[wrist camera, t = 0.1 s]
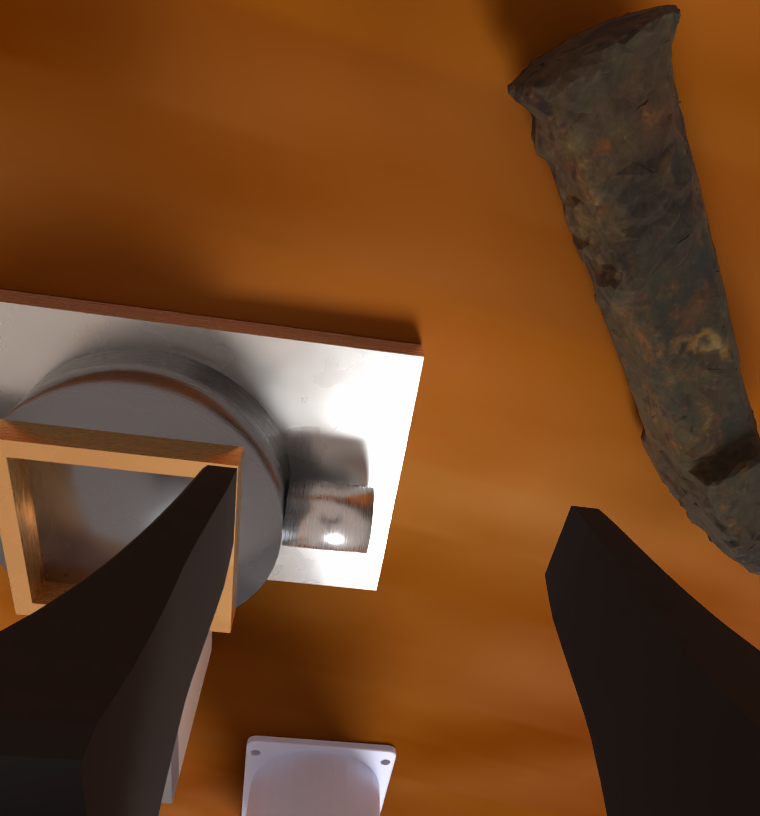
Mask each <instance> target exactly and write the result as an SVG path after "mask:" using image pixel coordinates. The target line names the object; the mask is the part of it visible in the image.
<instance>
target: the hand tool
mask: <svg viewBox="0 0 760 816" xmlns="http://www.w3.org/2000/svg"><path fill="white" fill-rule="evenodd" d="M679 19H680V9H678V8H677V6H676V5H663V6H657V7H653V8H649V9H645V10H641V11H638V12H634V13H626V14H625V15H623V16H621V17H617V18H614V19H611V20H608V21H605V22H603V23H601V24H599V25H597V26H594V27H592V28H590V29H587V30H585V31H583V32H582V33H580V34H578V35H576V36H574V37H572V38H571V39H569V40H567V41H565V42H563V43H562V44H560V45H558V46H557V47H555V48H554V49H552V50H550V51H549V52H547V53H545V54H543V55H542V56H540V57H538V58H536V59H534V60H532V61H531V62H530V65H529V67H527V68H526V69H525V70H523V71H522V72H521V73H520V75H519V76H518V77H516V79H515V80H514V81H513V82H512V83H510V84H509V85H508V87H507V88H508V93H509V95H510V96H512V98H513V99H514V100H515V101H516V102H518V103H520V104H522V105H523V106H524V107H525V108H526V109H527V110H529V111H530V112H531V115H532V118H533V120H532V133H531V136H532V140H533V141H534V146H535V150H536V153H537V155H538V156H540V157H542V158H543V159H545V160H547V161H548V163H549V165H550V167H551V170H552V173H553V176H554V179H555V183H556V186H557V189H558V192H559V195H560V198H561V201H562V203H563V209H564V215H565V219H566V222H567V224H568V226H569V229H570V231H571V233H572V235H573V241H574V244H575V246H576V248H577V251H578V253H579V255H580V257H581V259H582V261H583V262H584V261H585V263H586V266H587V268H588V271H589V274H590V276H591V279H592V282H593V285H594V289H595V297H594V298H595V301H596V302H597V304H598V305H599V306H600V309H601V312H602V314H603V317H604V319H605V322H606V324H607V327H608V329H609V332H610V334H611V337H612V339H613V342H614V345H615V348H616V350H617V353H618V356H619V359H620V361H621V364H622V367H623V370H624V372H625V375H626V378H627V382H628V385H629V387H630V390H631V393H632V395H633V398H634V400H635V403H636V406H637V409H638V412H639V416H640V418H641V421H642V424H643V426H644V429H643V432H642V435H641V440H642V443H643V446H644V448H645V450H646V452H647V454H648V456H649V457H650V459H651V461H652V463H653V465H654V467H655V469H656V470H657V472H658V474H659V476H660V478H661V480H662V482H663V483H664V484H666V485H667V486H668V488H669V490H670V492H671V493H672V495H673V496H674V497H675V498H676V499H677V500H678V501H679V502H680V506H682V507H683V508H684V509H685V510H686V511H687V516H688V518H689V519H690V521H691V522H692V523H693V524H695V525H697V526H699V527H700V528H702V529H703V530H704V531H705V532H706V533H707V535H708V538H709V540H710V541H711V542H713V543H714V544H715V545H716V546H717V547H718V548H719V549H720V550H721V551H722V552H723V553H724V554H726V555H727V556H729V557H730V558H732V559H733V560H735V561H737V562H738V563H739V564H741V565H742V566H744V567H745V568H746V569H747V570H748V571H749V572H750V573H753V574H757V575H760V437H759V434H758V431H757V425H756V420H755V417H754V414H753V410H752V409H751V406H750V403H749V400H748V397H747V394H746V390H745V387H744V383H743V380H742V376H741V373H740V359H739V354H738V350H737V345H736V341H735V337H734V333H733V328H732V324H731V320H730V315H729V311H728V306H727V299H726V294H725V290H724V286H723V282H722V277H721V273H720V269H719V265H718V260H717V254H716V250H715V247H714V244H713V242H712V238H711V233H710V228H709V222H708V218H707V214H706V210H705V206H704V202H703V198H702V194H701V188H700V184H699V180H698V176H697V172H696V169H695V165H694V162H693V158H692V154H691V151H690V147H689V144H688V140H687V136H686V131H685V125H684V119H683V116H682V113H681V110H680V107H679V103H680V102H681V101H678V94H677V90H676V87H675V83H674V80H673V70H672V60H671V57H672V50H671V45H672V42H673V39H674V35H675V32H676V28H677V24H678V23H679Z"/></svg>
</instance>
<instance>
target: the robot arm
mask: <svg viewBox="0 0 760 816" xmlns="http://www.w3.org/2000/svg"><path fill="white" fill-rule="evenodd" d="M236 485H237V468H231V467H222V466H214V465H207V466H205V467H204V468H202V469H201V471H200V472H199V473H198V474H197V475H196V477H195V478H194V479H193V480H192V481H191V482H190V484H189V485H188V486H187V487H186V488H185V489H184V490H183V491H182V492H181V494H180V495H179V496H178V497H177V498H176V499H175V500H174V501H173V502H172V503H171V504H170V505H169V506H168V507H167V508H166V509H165V510H164V511H163V512H162V513H161V514H160V515H159V516H158V517H157V518H156V519H155V520H154V521H153V522H152V523H151V524H150V525H149V526H148V527H147V528H146V529H145V530H143V531H142V532H141V533H140V534H139V535H138V536H137V537H136V538H134V539H133V540H132V541H131V542H130V543H129V544H128V545H126V546H125V547H124V548H123V549H122V550H121V551H120V552H118V553H117V554H116V555H115V556H114V557H112V558H111V559H110V560H109V561H107V562H106V563H105V564H104V565H102V566H101V567H100V568H98V569H97V570H96V571H94V572H93V573H92V574H90V575H89V576H88V577H86V578H85V579H84V580H82V581H81V582H79V583H78V584H77V585H75V586H74V587H72V588H71V589H69V590H68V591H66V592H65V593H63V594H62V595H60V596H59V597H57V598H56V599H54V600H53V601H51V602H50V603H48V604H46V605H45V606H43V607H42V608H40V609H38V610H37V611H35V612H34V613H32V614H30V615H29V616H27V617H25V618H23V619H22V620H20V621H18V622H16V623H14V624H13V625H11V626H9V627H7V628H5V629H3V630H2V631H0V816H158V814H159V810H160V805H161V801H162V797H163V793H164V788H165V784H166V780H167V775H168V771H169V767H170V762H171V758H172V754H173V750H174V746H175V741H176V737H177V733H178V729H179V725H180V721H181V717H182V713H183V708H184V704H185V701H186V698H187V694H188V691H189V688H190V684H191V681H192V678H193V675H194V672H195V670H196V667H197V664H198V661H199V658H200V655H201V652H202V649H203V647H204V644H205V641H206V638H207V635H208V632H209V629H210V626H211V624H212V621H213V618H214V615H215V612H216V609H217V606H218V603H219V600H220V597H221V594H222V591H223V588H224V585H225V581H226V576H227V572H228V567H229V563H230V558H231V553H232V549H233V544H234V527H235V506H236ZM545 578H546V584H547V590H548V596H549V602H550V607H551V612H552V617H553V620H554V624H555V627H556V630H557V633H558V636H559V639H560V642H561V646H562V649H563V652H564V655H565V658H566V661H567V664H568V667H569V670H570V673H571V676H572V679H573V682H574V685H575V688H576V691H577V694H578V697H579V700H580V703H581V706H582V709H583V712H584V715H585V719H586V722H587V726H588V729H589V733H590V736H591V740H592V745H593V749H594V754H595V758H596V763H597V767H598V772H599V776H600V781H601V786H602V791H603V796H604V801H605V806H606V812H607V816H760V651H759V650H758V649H757V648H755V647H754V646H753V645H751V644H750V643H749V642H747V641H746V640H745V639H743V638H742V637H741V636H739V635H738V634H737V633H735V632H734V631H733V630H731V629H730V628H729V627H727V626H726V625H725V624H724V623H723V622H721V621H720V620H719V619H718V618H716V617H715V616H714V615H713V614H711V613H710V612H709V611H708V610H707V609H706V608H705V607H703V606H702V605H701V604H700V603H699V602H698V601H696V600H695V599H694V598H693V597H692V596H691V595H689V594H688V593H687V592H686V591H685V590H684V589H683V588H682V587H680V586H679V585H678V584H677V583H676V582H675V581H674V580H673V579H672V578H671V577H670V576H669V575H667V574H666V573H665V572H664V571H663V570H662V569H661V568H660V567H659V566H658V565H657V564H656V563H655V562H654V561H653V560H652V559H651V558H650V557H649V556H648V555H646V554H645V553H644V552H643V551H642V550H641V549H640V548H639V547H638V546H637V545H636V544H635V543H634V542H633V541H632V540H631V539H630V538H629V537H628V536H627V535H626V534H625V533H624V532H623V531H622V530H621V529H620V528H619V527H618V526H617V525H616V524H615V523H614V522H612V521H611V520H610V519H609V518H608V517H607V516H606V515H605V514H604V513H603V512H601V511H600V510H599V509H595V508H586V507H577V506H571V508H570V511H569V513H568V516H567V519H566V521H565V524H564V526H563V529H562V532H561V534H560V537H559V539H558V542H557V545H556V547H555V550H554V552H553V555H552V558H551V560H550V563H549V565H548V568H547V571H546V573H545ZM395 758H396V749H395V748H394V747H393V746H389V745H378V744H365V743H351V742H338V741H324V740H311V739H297V738H284V737H271V736H251V737H250V738H248V740H247V747H246V760H245V774H244V787H243V800H242V814H241V816H380V812H381V809H382V805H383V801H384V798H385V794H386V791H387V787H388V783H389V780H390V776H391V773H392V769H393V765H394V762H395Z"/></svg>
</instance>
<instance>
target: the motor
mask: <svg viewBox="0 0 760 816" xmlns="http://www.w3.org/2000/svg"><path fill="white" fill-rule="evenodd" d="M423 360H424V354H423V349H422V345H420V344H412V343H405V342H397V341H390V340H382V339H375V338H367V337H359V336H352V335H344V334H337V333H329V332H322V331H314V330H306V329H299V328H291V327H284V326H276V325H269V324H261V323H253V322H246V321H238V320H231V319H223V318H216V317H208V316H200V315H193V314H185V313H178V312H170V311H163V310H155V309H147V308H140V307H132V306H125V305H117V304H110V303H102V302H94V301H87V300H79V299H72V298H64V297H56V296H49V295H41V294H34V293H26V292H19V291H11V290H3V289H0V563H1V564H2V566H3V567H4V568H5V569H6V570H7V571H8V576H9V581H10V586H11V591H12V596H13V601H14V606H15V611H16V614H20V615H30V614H32V613H34V612H35V611H37V610H38V609H40V608H42V607H43V606H45V605H46V604H48V603H50V602H51V601H53V600H54V599H56V598H57V597H59V596H60V595H62V594H63V593H65V592H66V591H68V590H69V589H71V588H72V587H74V586H75V585H77V584H78V583H79V582H81V581H82V580H84V579H85V578H86V577H88V576H89V575H90V574H92V573H93V572H94V571H96V570H97V569H98V568H100V567H101V566H102V565H104V564H105V563H106V562H107V561H109V560H110V559H111V558H112V557H114V556H115V555H116V554H117V553H118V552H120V551H121V550H122V549H123V548H124V547H125V546H126V545H128V544H129V543H130V542H131V541H132V540H133V539H134V538H136V537H137V536H138V535H139V534H140V533H141V532H142V531H143V530H145V529H146V528H147V527H148V526H149V525H150V524H151V523H152V522H153V521H154V520H155V519H156V518H157V517H158V516H159V515H160V514H161V513H162V512H163V511H164V510H165V509H166V508H167V507H168V506H169V505H170V504H171V503H172V502H173V501H174V500H175V499H176V498H177V497H178V496H179V495H180V494H181V492H182V491H183V490H184V489H185V488H186V487H187V486H188V485H189V484H190V482H191V481H192V480H193V479H194V478H195V477H196V475H197V474H198V473H199V472H200V471H201V469H202V468H204V467H205V466H207V465H214V466H222V467H231V468H237V485H236V506H235V527H234V544H233V549H232V553H231V558H230V563H229V567H228V572H227V576H226V581H225V585H224V588H223V591H222V594H221V597H220V600H219V603H218V606H217V609H216V612H215V615H214V618H213V621H212V624H211V626H210V629H209V631H212V632H224V633H231V628H232V624H233V620H234V616H235V611H236V608H237V607H238V606H240V605H241V604H243V603H244V602H246V601H247V600H248V599H249V598H250V597H251V596H253V595H254V594H255V593H256V592H257V591H258V590H259V589H260V587H261V586H262V585H263V584H264V583H265V581H266V580H276V581H286V582H296V583H307V584H317V585H327V586H338V587H348V588H359V589H369V590H376V589H377V584H378V579H379V574H380V569H381V565H382V560H383V555H384V550H385V545H386V540H387V535H388V530H389V525H390V521H391V516H392V511H393V506H394V501H395V496H396V491H397V486H398V482H399V477H400V472H401V467H402V462H403V457H404V452H405V447H406V443H407V438H408V433H409V428H410V423H411V418H412V413H413V408H414V403H415V399H416V394H417V389H418V384H419V379H420V374H421V369H422V364H423Z"/></svg>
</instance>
